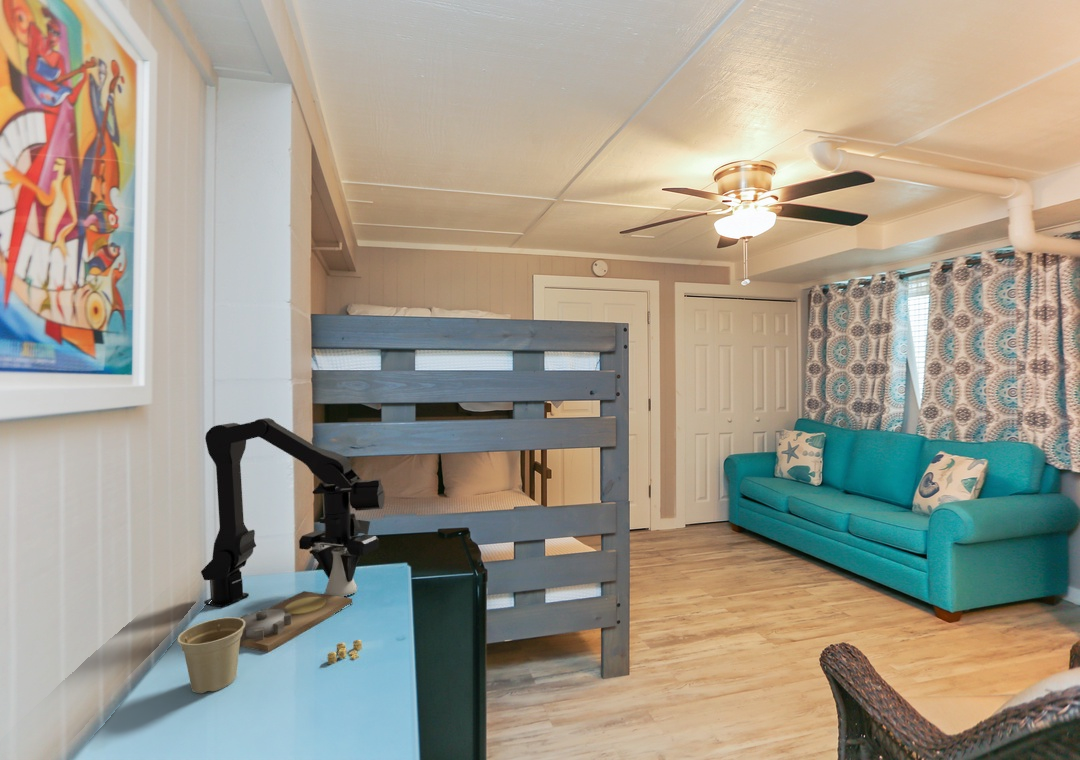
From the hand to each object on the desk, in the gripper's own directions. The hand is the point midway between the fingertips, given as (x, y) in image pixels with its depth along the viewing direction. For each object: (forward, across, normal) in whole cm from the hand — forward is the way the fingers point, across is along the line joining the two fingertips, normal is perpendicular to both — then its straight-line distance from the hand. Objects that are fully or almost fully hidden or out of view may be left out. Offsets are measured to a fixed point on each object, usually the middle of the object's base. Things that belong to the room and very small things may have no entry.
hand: (340, 579), depth 121 cm
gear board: (+3, 0, +14) cm, 15 cm away
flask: (+3, 0, 0) cm, 3 cm away
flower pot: (+3, -7, +35) cm, 36 cm away
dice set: (+4, -21, +21) cm, 30 cm away
